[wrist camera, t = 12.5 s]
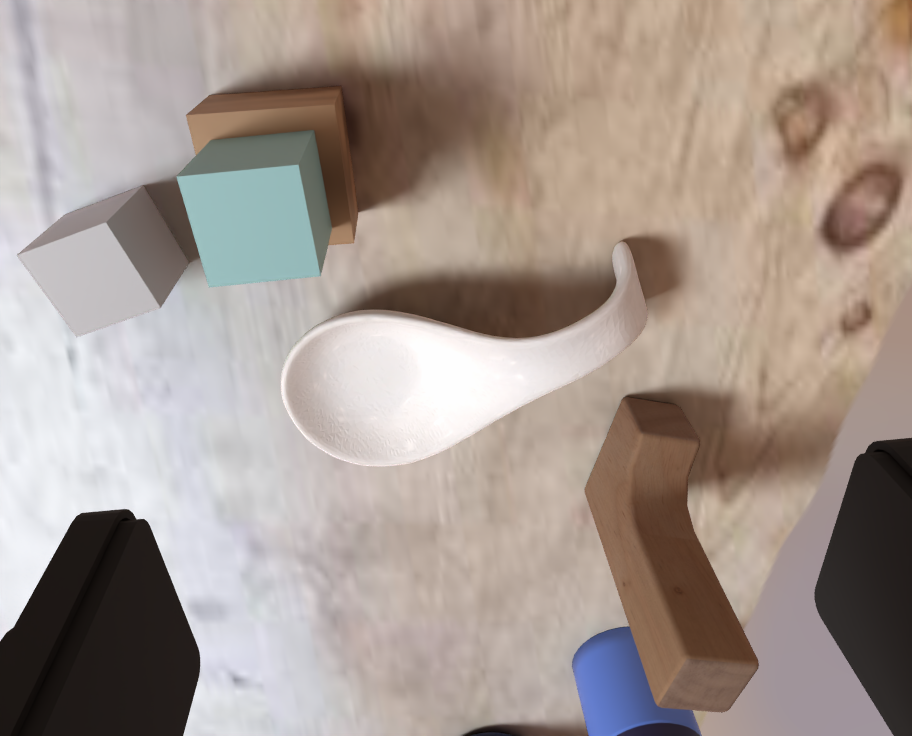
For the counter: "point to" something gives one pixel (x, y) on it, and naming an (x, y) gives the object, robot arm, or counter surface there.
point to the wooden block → (665, 561)
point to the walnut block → (283, 116)
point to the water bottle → (622, 691)
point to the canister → (491, 734)
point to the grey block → (106, 261)
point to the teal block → (258, 208)
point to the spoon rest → (439, 374)
